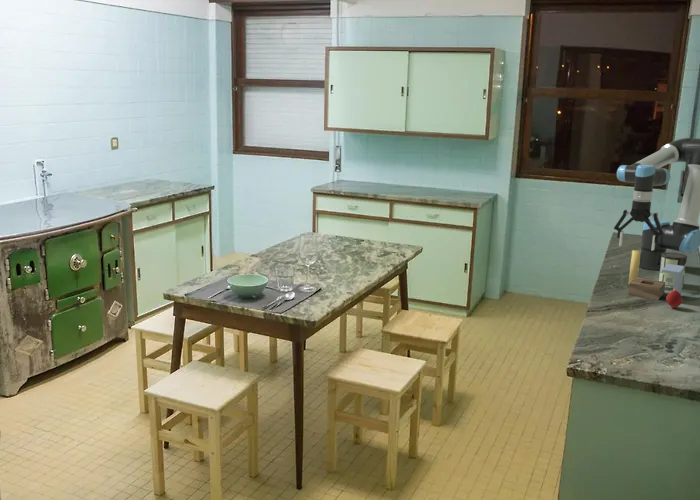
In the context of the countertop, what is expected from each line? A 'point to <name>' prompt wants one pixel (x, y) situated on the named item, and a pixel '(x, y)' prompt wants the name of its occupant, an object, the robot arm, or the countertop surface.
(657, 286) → the socket block
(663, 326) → the countertop surface
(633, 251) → the peg
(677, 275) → the light blue box
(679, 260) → the coffee can
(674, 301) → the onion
